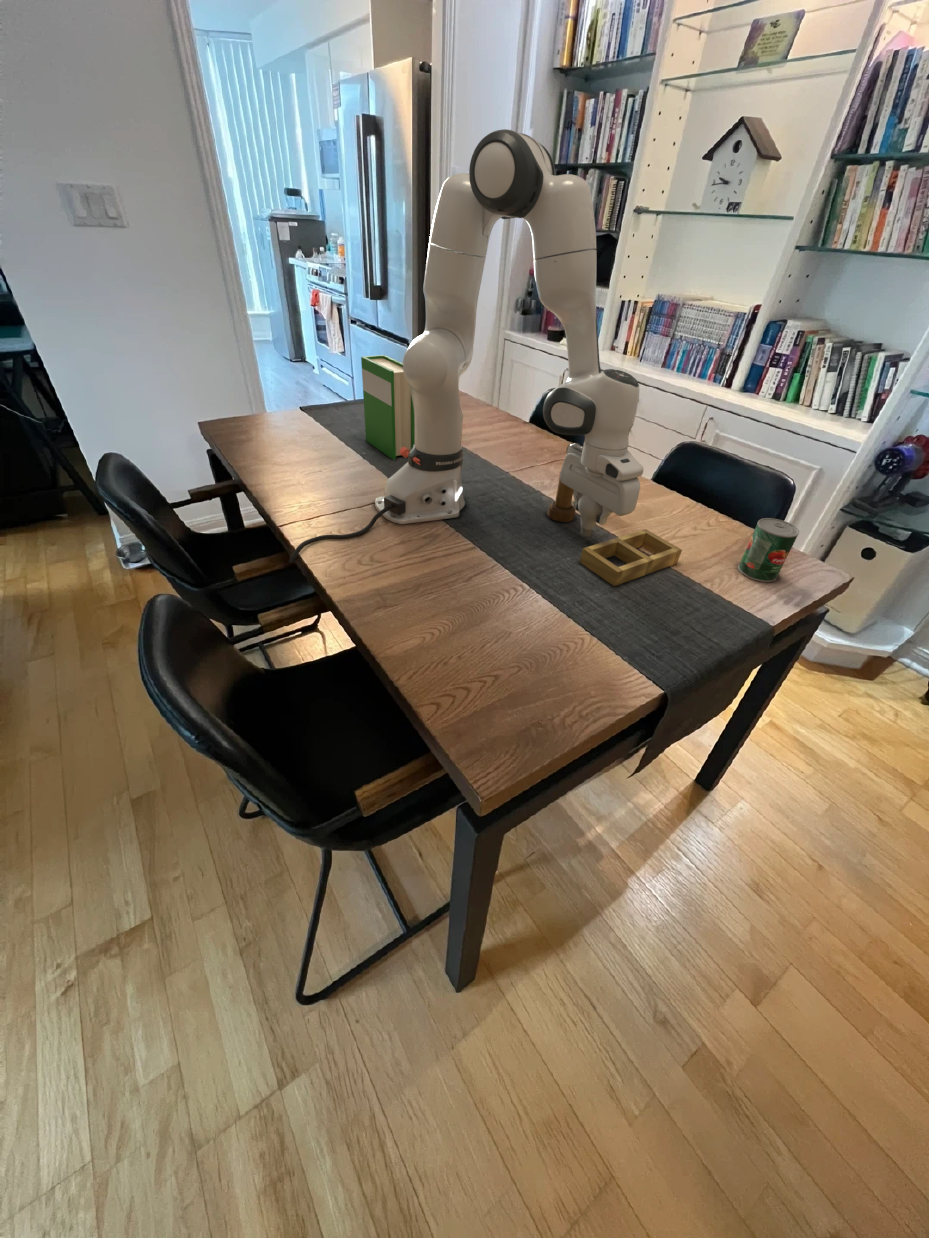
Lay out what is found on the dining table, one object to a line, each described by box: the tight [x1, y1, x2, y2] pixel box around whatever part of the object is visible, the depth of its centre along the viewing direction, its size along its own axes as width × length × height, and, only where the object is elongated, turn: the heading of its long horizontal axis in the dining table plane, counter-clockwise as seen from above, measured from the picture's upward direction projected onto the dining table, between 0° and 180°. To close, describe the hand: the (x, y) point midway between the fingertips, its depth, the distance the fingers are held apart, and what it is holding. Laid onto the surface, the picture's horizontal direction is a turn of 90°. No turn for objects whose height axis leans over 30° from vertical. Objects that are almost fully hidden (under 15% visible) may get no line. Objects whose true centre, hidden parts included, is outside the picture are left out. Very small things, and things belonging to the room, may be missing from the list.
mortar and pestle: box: [546, 442, 576, 523], centre depth 125 cm, size 7×6×18 cm
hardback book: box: [360, 354, 415, 460], centre depth 153 cm, size 18×7×24 cm, turn 34°
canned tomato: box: [737, 517, 800, 583], centre depth 111 cm, size 8×8×11 cm
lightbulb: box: [578, 495, 604, 538], centre depth 118 cm, size 6×6×11 cm
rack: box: [579, 528, 683, 587], centre depth 114 cm, size 19×10×4 cm, turn 122°
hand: (589, 516), depth 118 cm, fingers closed on lightbulb, 6 cm apart
